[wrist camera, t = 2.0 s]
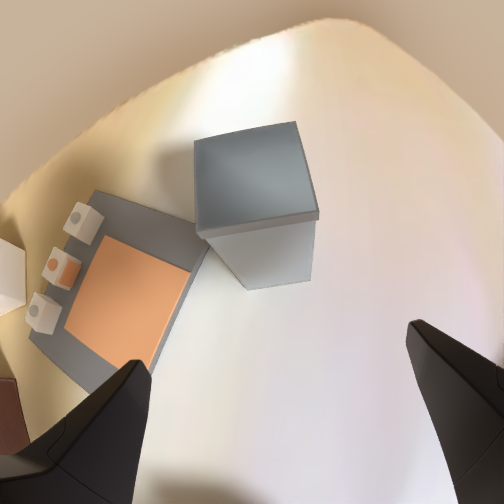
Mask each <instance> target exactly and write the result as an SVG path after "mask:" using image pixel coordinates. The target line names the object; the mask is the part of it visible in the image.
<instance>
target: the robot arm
mask: <svg viewBox="0 0 504 504" xmlns="http://www.w3.org/2000/svg"><path fill="white" fill-rule="evenodd" d="M406 347H407V350H408V353H409V357H410V360H411V363H412V367H413V370H414V373H415V377H416V380H417V384H418V386H419V389H420V391H421V394H422V396H423V399H424V401H425V404H426V406H427V409H428V412H429V414H430V417H431V419H432V422H433V425H434V427H435V430H436V433H437V436H438V439H439V441H440V444H441V447H442V450H443V453H444V456H445V459H446V462H447V465H448V469H449V472H450V475H451V478H452V482H453V485H454V489H455V493H456V496H457V500H458V504H504V369H503V368H501V367H500V366H496V364H495V363H493V362H491V361H490V360H488V359H487V358H485V357H483V356H482V355H480V354H478V353H477V352H475V351H473V350H472V349H470V348H468V347H467V346H465V345H464V344H462V343H460V342H459V341H457V340H455V339H454V338H452V337H450V336H449V335H447V334H445V333H443V332H442V331H440V330H438V329H437V328H435V327H433V326H432V325H430V324H428V323H427V322H425V321H423V320H421V319H418V320H414V321H411V322H409V324H408V329H407V336H406ZM151 383H152V378H151V375H150V373H149V371H148V369H147V368H146V366H145V364H144V363H143V361H142V360H140V359H132V360H129V361H128V362H127V363H126V364H125V365H124V366H122V367H121V368H120V369H119V370H118V371H117V372H115V373H114V374H113V375H112V376H111V377H110V378H109V379H107V380H106V381H105V382H104V383H103V384H102V385H101V386H99V387H98V388H97V389H96V390H95V391H94V392H92V393H91V394H90V395H89V396H88V397H87V398H86V399H84V400H83V401H82V402H81V403H80V404H79V405H77V406H76V407H75V408H74V409H73V410H72V411H71V412H69V413H68V414H67V415H66V417H64V418H62V419H61V420H60V421H59V422H58V423H57V424H55V425H54V426H53V427H52V428H51V429H49V430H48V431H47V432H45V433H44V434H43V435H41V436H40V437H39V438H37V439H36V440H35V441H33V442H32V443H30V444H29V445H28V446H26V447H25V448H23V449H22V450H20V451H19V452H17V453H15V454H12V455H0V504H132V499H133V493H134V487H135V481H136V475H137V470H138V464H139V459H140V453H141V448H142V443H143V438H144V433H145V428H146V423H147V418H148V411H149V401H150V392H151Z"/></svg>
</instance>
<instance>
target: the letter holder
mask: <svg viewBox="0 0 504 504" xmlns="http://www.w3.org/2000/svg"><path fill="white" fill-rule="evenodd" d="M29 444H30V440H29V436H28V433H27V429H26V425H25V422H24V418H23V413H22V409H21V405H20V400H19V395H18V390H17V384H16V379H14V378H0V455H12V454H15V453H17V452H19V451H20V450H22V449H23V448H25V447H26V446H28V445H29Z"/></svg>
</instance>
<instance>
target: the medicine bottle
mask: <svg viewBox="0 0 504 504" xmlns="http://www.w3.org/2000/svg"><path fill="white" fill-rule="evenodd" d="M25 304H26V251H25V250H23V249H21V248H19V247H17V246H15V245H13V244H11V243H9V242H7V241H6V240H4V239H2V238H0V316H2V315H4V314H6V313H8V312H10V311H13V310H15V309H17V308H19V307H21V306H23V305H25Z"/></svg>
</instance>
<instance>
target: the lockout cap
mask: <svg viewBox="0 0 504 504" xmlns="http://www.w3.org/2000/svg"><path fill="white" fill-rule="evenodd" d="M194 179H195V215H196V233H197V234H198V236H199V237H200V238H201V239H202V240H203V239H206V240H207V242H208V243H209V244H210V245H211V247H212V248H213V249H214V250H215V252H216V253H217V254H218V255H219V256H220V258H221V259H222V260H223V261H224V263H225V264H226V265H227V266H228V267H229V269H230V270H231V271H232V272H233V274H234V275H235V276H236V277H237V278H238V280H239V281H240V282H241V283H242V284H243V286H244V287H245V288H246V289H247V290H254V289H261V288H267V287H274V286H280V285H287V284H293V283H299V282H305V281H310V280H311V270H312V260H313V249H314V237H315V224H316V220H319V208H318V204H317V200H316V195H315V191H314V187H313V183H312V179H311V175H310V172H309V168H308V164H307V160H306V156H305V153H304V149H303V145H302V142H301V138H300V135H299V131H298V128H297V124H296V121H293V122H286V123H280V124H274V125H268V126H262V127H256V128H251V129H246V130H241V131H236V132H231V133H226V134H222V135H217V136H213V137H208V138H204V139H200V140H196V141H194Z"/></svg>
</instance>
